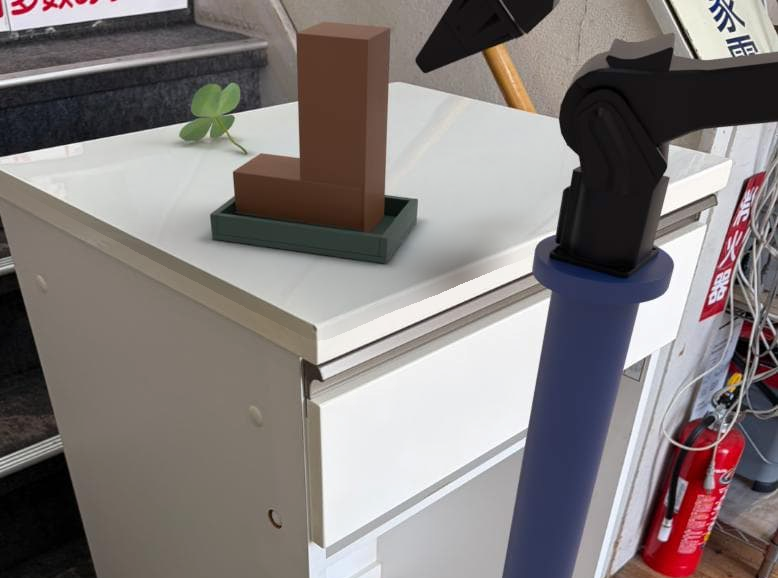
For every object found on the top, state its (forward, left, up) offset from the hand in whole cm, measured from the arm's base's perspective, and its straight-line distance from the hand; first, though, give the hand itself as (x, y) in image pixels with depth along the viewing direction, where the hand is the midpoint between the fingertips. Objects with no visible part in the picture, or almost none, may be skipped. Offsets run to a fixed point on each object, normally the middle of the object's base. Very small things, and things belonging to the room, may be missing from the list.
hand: (435, 54), depth 59 cm
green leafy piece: (+32, -9, -14) cm, 36 cm away
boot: (+10, +3, -13) cm, 17 cm away
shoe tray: (+9, +3, -14) cm, 16 cm away
